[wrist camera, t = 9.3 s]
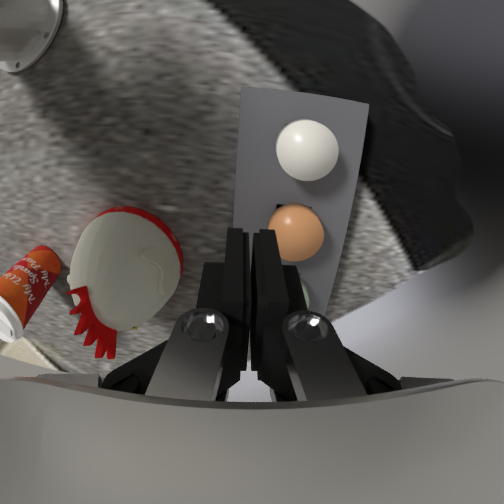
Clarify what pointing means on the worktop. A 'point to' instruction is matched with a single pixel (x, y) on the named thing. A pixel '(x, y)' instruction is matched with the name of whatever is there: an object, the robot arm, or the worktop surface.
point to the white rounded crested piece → (122, 274)
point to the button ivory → (306, 149)
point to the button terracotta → (296, 231)
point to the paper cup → (25, 290)
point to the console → (291, 189)
